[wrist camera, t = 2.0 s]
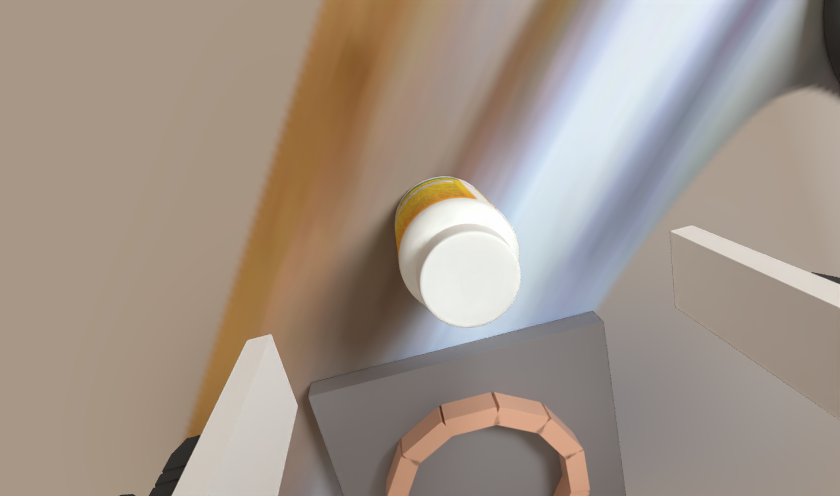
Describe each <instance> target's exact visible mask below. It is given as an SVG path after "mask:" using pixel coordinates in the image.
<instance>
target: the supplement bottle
mask: <svg viewBox="0 0 840 496" xmlns="http://www.w3.org/2000/svg"><path fill="white" fill-rule="evenodd" d="M395 235H396V243H397V252H398V260H399V267H400V272H401V276H402V278H403V281H404V283H405V285H406V287H407V288H408V290H409V291H410V292H411V294H412V295H413V296H414V297H415V298H416V299H417V300H418V301H419V302H420V303H422V304H423V305H425V306H426V307H427V308H428V309H429V311H430V312H431V313H432V314H433V315H434V316H435V317H437V318H438V319H439V320H441V321H443V322H445V323H447V324H449V325H452V326H456V327H463V328H470V327H477V326H482V325H485V324H488V323H490V322H492V321H494V320H496V319H497V318H499V317H500V316H501V315H502V314H504V313H505V312H506V310H508V308H509V307H510V306H511V305H512V303H513V302H514V300H515V298H516V296H517V294H518V291H519V287H520V281H521V272H520V266H519V245H518V241H517V237H516V234H515V232H514V230H513V228H512V226H511V224H510V223H509V222H508V220H507V219H506V218H505V217H504V215H503V214H502V213H501V212H500V211H499V210H498V209H497V208H496V207H494V206H493V205H492V204H491V203H490V202H489V201H488V200H487V199H486V198H485V197H484V196H483V195H482V194H481V193H480V192H479V191H478V190H477V189H476V188H474V187H473V186H472V185H470V184H469V183H467V182H465V181H463V180H461V179H457V178H453V177H446V176H443V177H435V178H431V179H427V180H425V181H422V182H420V183H418V184H417V185H415V186H414V187H412V188H411V189H410V190H409V191H408V192H407V193H406V194H405V195H404V197H403V198H402V200H401V202H400V204H399V206H398V208H397V211H396V215H395Z"/></svg>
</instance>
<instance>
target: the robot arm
mask: <svg viewBox="0 0 840 496" xmlns="http://www.w3.org/2000/svg"><path fill="white" fill-rule="evenodd" d="M824 26H825V38H826V44H827V49H828V54H829V58H830V61H831V64H832V67H833V69H834V71H835V74H836V76H837V78H838V80H839V82H840V0H825V12H824ZM670 243H671V258H672V271H673V285H674V298H675V307H676V308H678V309H679V310H681V311H682V312H683V313H685V314H686V315H688V316H689V317H691V318H692V319H694V320H695V321H696V322H698V323H699V324H701V325H702V326H704V327H705V328H707V329H708V330H710V331H711V332H712V333H714V334H715V335H717V336H718V337H720V338H721V339H723V340H724V341H726V342H727V343H728V344H730V345H731V346H733V347H734V348H736V349H737V350H739V351H740V352H741V353H743V354H744V355H746V356H748V357H749V358H750V359H752V360H753V361H754V362H756V363H758V364H759V365H760V366H762V367H763V368H765V369H766V370H768V371H769V372H770V373H772V374H774V375H775V376H776V377H778V378H779V379H781V380H782V381H784V382H785V383H787V384H788V385H789V386H791V387H792V388H794V389H795V390H797V391H798V392H800V393H801V394H802V395H804V396H805V397H807V398H808V399H810V400H811V401H813V402H814V403H815V404H817V405H818V406H820V407H822V408H823V409H824V410H826V411H827V412H828V413H830V414H831V415H833V416H834V417H836V418H837V419H839V420H840V278H838V277H833V276H828V275H823V274H818V273H813V272H812V273H810V272H807V271H805V270H803V269H800V268H798V267H795V266H793V265H790V264H788V263H785V262H783V261H780V260H778V259H775V258H772V257H770V256H768V255H765V254H763V253H760V252H758V251H755V250H753V249H750V248H748V247H746V246H743V245H740V244H738V243H735V242H733V241H730V240H728V239H726V238H723V237H720V236H718V235H716V234H713V233H711V232H708V231H706V230H703V229H701V228H698V227H696V226H693V225H691V226H687V227H683V228H679V229H676V230H671V231H670ZM297 408H298V405H297V403H296V400H295V397H294V394H293V392H292V389H291V386H290V384H289V381H288V378H287V376H286V373H285V370H284V367H283V365H282V362H281V359H280V357H279V354H278V351H277V349H276V346H275V343H274V341H273V338H272V335H271V334H269V335H265V336H262V337H258V338H254V339H250V340H247V342H246V344H245V346H244V348H243V350H242V352H241V354H240V356H239V358H238V360H237V362H236V364H235V366H234V369H233V371H232V373H231V375H230V377H229V379H228V381H227V383H226V385H225V387H224V389H223V391H222V393H221V395H220V397H219V399H218V401H217V403H216V406H215V408H214V410H213V412H212V414H211V416H210V418H209V420H208V422H207V424H206V426H205V428H204V430H203V432H202V434H201V435H198V436H194V437H191V438H187V439H186V440H185V441H184V442H183V443H182V444H181V445H180V446H179V447H178V448H177V449H176V450H175V451H174V452H173V453H172V454H171V456H170V458H169V460H168V462H167V463H166V465H165V467H164V469H163V471H162V472H163V474H161V475H160V476H159V478H158V480H157V482H156V484H155V488H153V489H152V491H151V493H150V495H149V496H278V493H279V489H280V484H281V480H282V475H283V471H284V466H285V462H286V457H287V453H288V448H289V444H290V439H291V435H292V430H293V426H294V421H295V417H296V412H297ZM120 496H135V495H133V494H129V495H120Z"/></svg>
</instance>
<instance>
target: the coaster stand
mask: <svg viewBox="0 0 840 496" xmlns="http://www.w3.org/2000/svg"><path fill="white" fill-rule="evenodd" d="M308 398H309V401H310V404H311V406H312V409H313V412H314V415H315V418H316V420H317V423H318V426H319V429H320V431H321V434H322V437H323V440H324V443H325V445H326V448H327V451H328V454H329V457H330V459H331V462H332V465H333V468H334V470H335V473H336V476H337V479H338V482H339V484H340V487H341V490H342V493H343V496H626V493H625V485H624V477H623V469H622V461H621V454H620V446H619V438H618V430H617V422H616V415H615V407H614V399H613V391H612V383H611V377H610V368H609V361H608V353H607V345H606V337H605V329H604V322H603V321H602V320H601V319H600V318H599V317H598V316H597V315H596V314H595V313H594V312H593V311H591V312H587V313H583V314H579V315H576V316H572V317H568V318H564V319H560V320H556V321H552V322H548V323H544V324H540V325H536V326H532V327H528V328H524V329H520V330H517V331H513V332H509V333H505V334H501V335H497V336H493V337H489V338H485V339H481V340H477V341H473V342H469V343H465V344H462V345H458V346H454V347H450V348H446V349H442V350H438V351H434V352H430V353H426V354H422V355H418V356H414V357H410V358H407V359H403V360H399V361H395V362H391V363H387V364H383V365H379V366H375V367H371V368H367V369H363V370H359V371H355V372H351V373H348V374H344V375H340V376H336V377H332V378H328V379H324V380H320V381H316V382H312V383H311V386H310V391H309V395H308Z"/></svg>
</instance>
